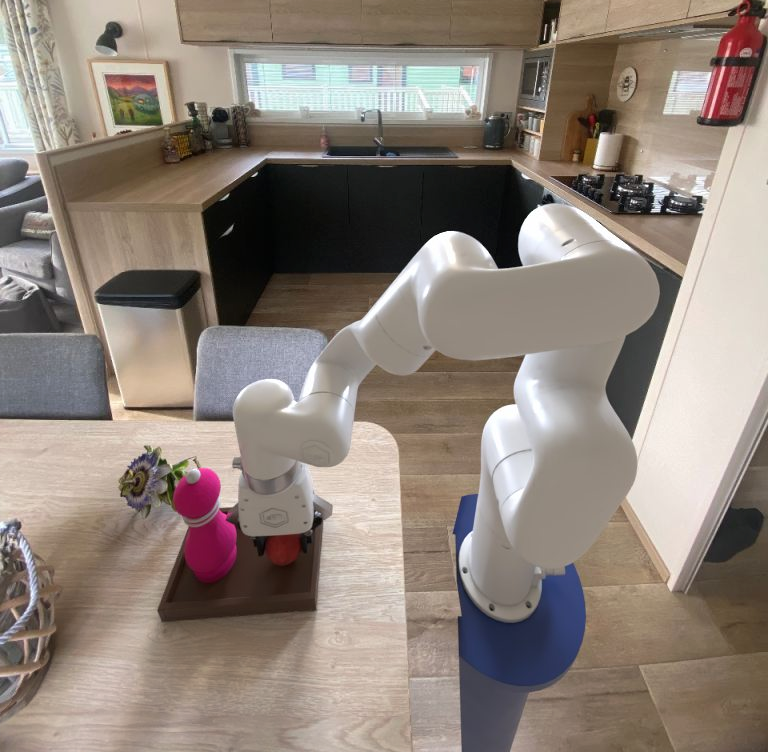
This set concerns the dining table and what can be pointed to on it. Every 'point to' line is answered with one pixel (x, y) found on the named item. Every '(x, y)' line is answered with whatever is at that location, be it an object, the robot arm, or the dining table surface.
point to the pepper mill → (205, 525)
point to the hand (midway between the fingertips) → (284, 543)
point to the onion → (283, 548)
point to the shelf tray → (244, 584)
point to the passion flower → (151, 481)
